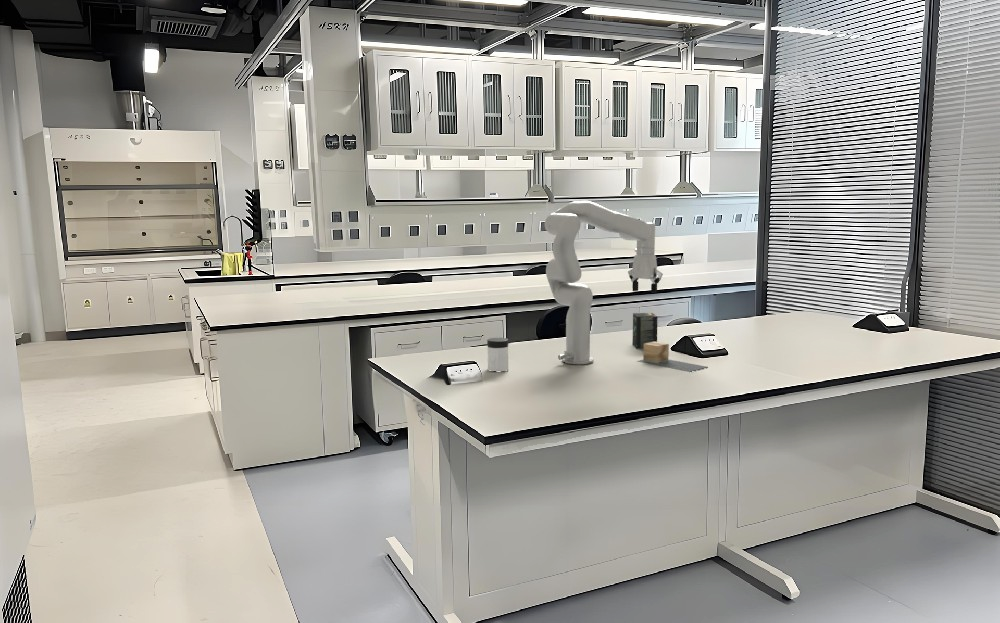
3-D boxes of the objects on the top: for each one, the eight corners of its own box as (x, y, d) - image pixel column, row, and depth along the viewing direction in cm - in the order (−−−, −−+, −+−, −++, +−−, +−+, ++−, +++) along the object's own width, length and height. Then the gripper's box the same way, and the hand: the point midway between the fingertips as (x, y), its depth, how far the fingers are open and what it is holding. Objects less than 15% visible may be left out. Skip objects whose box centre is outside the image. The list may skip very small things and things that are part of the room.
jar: (482, 371, 268) (482, 340, 266) (493, 366, 275) (492, 336, 273) (503, 373, 263) (502, 342, 262) (513, 369, 270) (513, 338, 269)
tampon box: (657, 349, 304) (658, 316, 302) (636, 349, 304) (636, 316, 302) (652, 344, 315) (653, 312, 313) (632, 344, 315) (632, 312, 313)
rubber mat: (689, 372, 261) (689, 371, 260) (636, 362, 279) (636, 361, 279) (707, 367, 268) (707, 366, 268) (654, 357, 287) (654, 356, 287)
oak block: (657, 363, 275) (658, 346, 274) (643, 360, 280) (643, 343, 279) (668, 361, 279) (668, 343, 278) (654, 358, 284) (654, 341, 283)
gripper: (623, 251, 299) (622, 291, 302) (657, 253, 286) (656, 294, 289) (634, 250, 304) (633, 289, 307) (667, 252, 291) (666, 292, 294)
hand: (644, 291), depth 298 cm, fingers open, 9 cm apart
